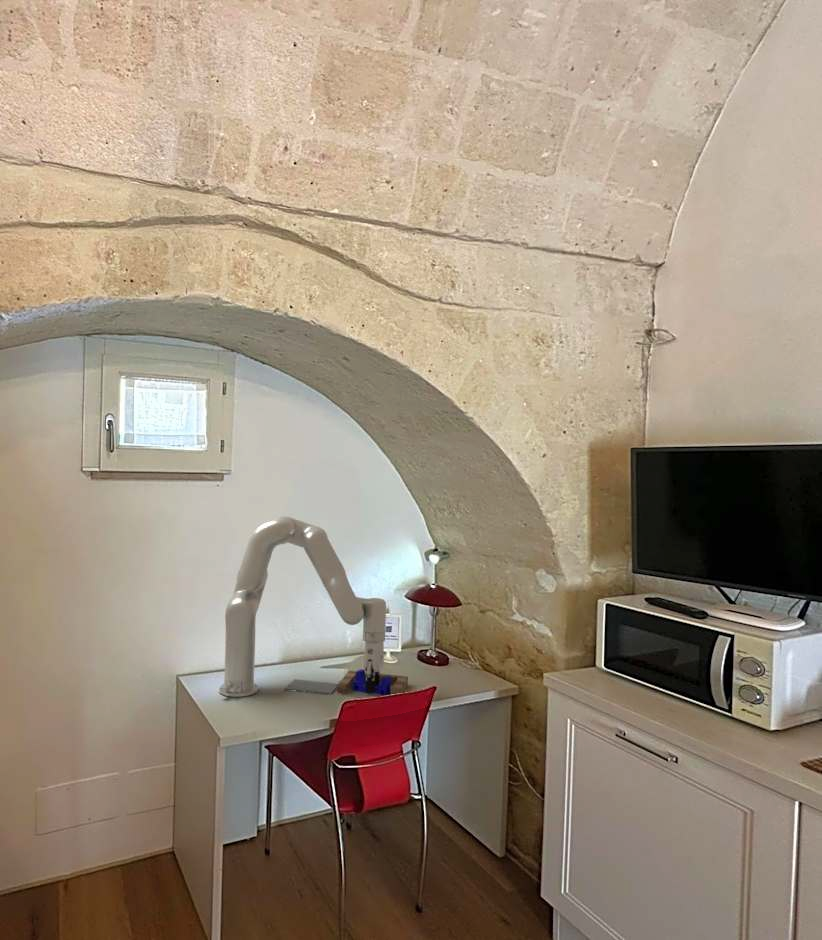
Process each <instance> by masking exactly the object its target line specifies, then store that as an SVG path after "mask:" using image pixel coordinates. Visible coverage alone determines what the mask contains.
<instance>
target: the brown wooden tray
mask: <svg viewBox="0 0 822 940" xmlns="http://www.w3.org/2000/svg"><path fill="white" fill-rule="evenodd" d="M378 675H380V683H379V685H380V684H381V682H382V677H384V676H386V675H389V676H391V686H392V687H390V694H397V693H402V692H403V693H404V692H405V690H406V689H407V687H408V683H409V677H408V675H395V674H387V673H380V674H378ZM365 676H366V671H365ZM355 680H356V671H355V670H348V672H347V673H346V674H345V675H344V677H343V678H341V680H340V681H338V683H336V684H337V689H336V693H340V694H339V695H347V694H348V692H349V691H350V690H351V689H352V688H353V681H355ZM349 689H350V690H349ZM390 694H389V695H390Z"/></svg>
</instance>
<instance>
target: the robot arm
mask: <svg viewBox="0 0 822 940" xmlns="http://www.w3.org/2000/svg"><path fill="white" fill-rule="evenodd" d="M287 543H288V544H291V545H294V546H298V547H300V548H303V550H304V552H305V554H306V555H307V556H308V559H309V560H310V563H311V564H312V566H313V567H314V570H315V571H316V573H317V575H318V577H319V579H320V581H321V583H322V586H323V587H324V588H325V590H326V592H327V593H328V596H329V598H330V600H331V602H332V603H333V605H334V607H335V609H336V611H337V613H338V615H339V617H340V618H341V620H342V621H343V622H344V623H345V624H347V625H349V626H355V625H358V624H360V623H361V621H363V624H362V625H363V626H362V641H363V642H365V644H364V645H365V646H364V656H363V657H364V659H363V661H364V662H363V664H364V665H363V670H365V672H366V692H369V693H368V694H371V693H372V694H375V686H379V685H380V684H379V683H380V675H378V674H381V673H380V672H381V669H382V668H383V667H384V664H385V662H384V661H385V658H384V655H385V652H384V651H385V650H384V649H385V648H384V646H385V645H384V642H385V641H386V625H387V623H386V622H387V621H386V620H387V617H386V616H387V602H386V600H385V599H383V598H379V597H370V598H365V597H359V596H358V597H357V596H356V594H355V592H354V590H353V589H352V587H351V584H350V582H349V579H348V577H347V573H346V570H345V567H344V565H343V563H342V562H341V560H340V558H339V557H338V555H337V553H336V551H335V550H334V547H333V545H332V543H331V542H330V540H329V538H328V533H327V532H326V531H325V530H324V529H323V528H322V527H319V526H317V525H314V524H310V523H307V522H304V521H301V520H299V519H296V518H293V517H289V516H287V515H285V516H284V515H283V516H278V517H277V518H275V519H274V520H270V521H268V522H265V523H263V524H260V526H258V527H257V528H256V529H255V530H254V531H253V533H251V535H250V537H249V539H248V543H247V546H246V549H245V551H244V555H243V556H242V557H243V558H242V560H241V563H240V566H239V569H238V571H237V574H236V583H235V587H234V591H233V593H232V597H231V599H230V600H229V602H228V603H227V604H226V609H225V616H224V617H225V647H224V648H225V649H224V650H225V652H224V654H225V655H224V674H223V675H224V677H223V678H224V680H223V684H221V685H220V686H219V688H218V692H219V694H221V695H223V696H227V697H235V698H239V697H249V696H252V695H254V694H256V693H257V692H258V691H259V685H258V684H257V683H255V657H256V656H255V655H256V618H257V612H258V610H259V607H260V604H261V600H262V596H263V594H264V591H265V586H266V583H267V580H268V574H269V573H268V568H269V565H270V564H269V563H270V561H271V558H272V555H273V551H274V550H275V548H276V547H277V546H279V545H284V544H287Z"/></svg>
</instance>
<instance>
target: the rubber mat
mask: <svg viewBox="0 0 822 940" xmlns="http://www.w3.org/2000/svg"><path fill="white" fill-rule="evenodd" d="M337 684H338V683H335V682H324V681H316V680H315V681H313V680H306V679H305V680H303V679H294V680H292V681H290V683H289V684H288V685H287V686H286V687H284V691H287V690H296V691H295V692H297V691H305V692H304V693H306V692H314V693H313V694H316V693H324V694H323V695H326V694H331V695H333V694H334V692H335V691H336V690H337V689H336V688H337ZM335 689H336V690H335ZM334 690H335V691H334Z"/></svg>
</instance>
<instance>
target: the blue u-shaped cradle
mask: <svg viewBox="0 0 822 940" xmlns="http://www.w3.org/2000/svg"><path fill="white" fill-rule="evenodd" d="M365 672H366V671H365V670H364V669H359V670H357V671H356V680H355V681H353V686H352V690H353V691H355V690H356V691H355V692H360V693H364V694H370V693H369V692H366V676H365ZM389 675H390V674H388V675H386V676H384V677H382V682H381V684H379V686H375V693H374V694H376V695H380V696H383V695H386V696H388V695H390V690H391V686H392V685H391V676H389ZM387 694H388V695H387Z"/></svg>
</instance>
